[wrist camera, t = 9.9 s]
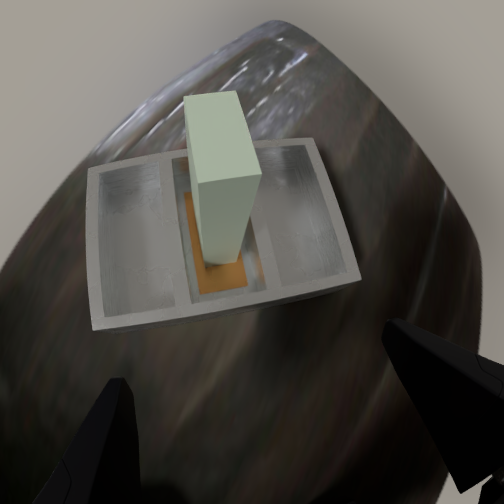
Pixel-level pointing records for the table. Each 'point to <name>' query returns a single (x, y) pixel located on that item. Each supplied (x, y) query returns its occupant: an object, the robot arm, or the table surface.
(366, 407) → the table surface
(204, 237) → the pale green rectangular block
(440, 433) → the robot arm
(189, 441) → the table surface
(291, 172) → the rack
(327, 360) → the table surface
